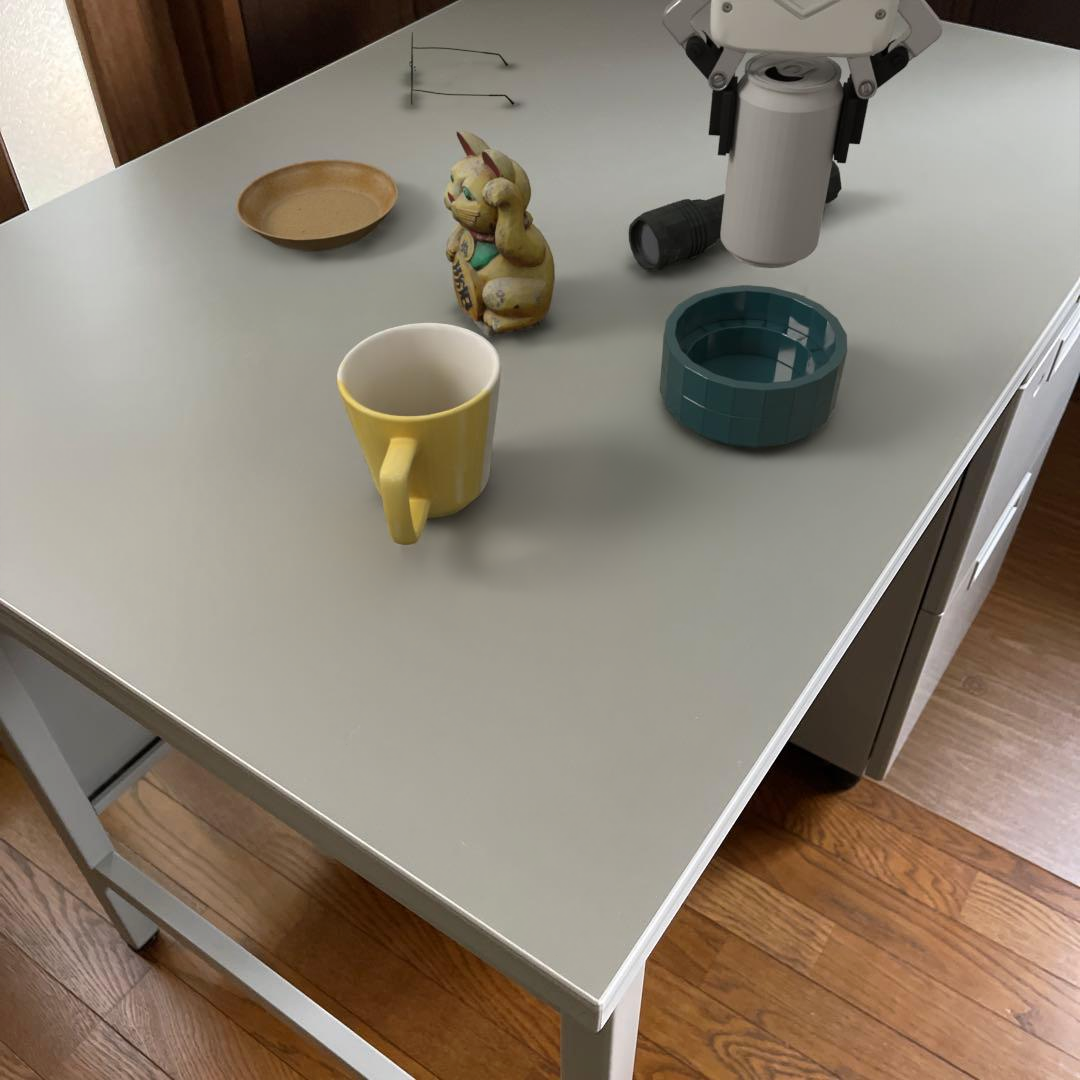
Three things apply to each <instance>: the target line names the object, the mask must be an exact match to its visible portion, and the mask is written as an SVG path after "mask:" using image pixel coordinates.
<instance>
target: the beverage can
mask: <svg viewBox="0 0 1080 1080" xmlns="http://www.w3.org/2000/svg"><path fill="white" fill-rule="evenodd" d="M842 72H843V71H842V68H841V66H840V64H839V63H837V62H836V60H833V59H832V58H831V57H819V56H799V55H780V54H762V53H758V54H755V55H753V56H752V57H750V58H749V59H748V60H747V61H746V63H745V64H744V74H743V76H741V78H740V79H738V82H737V89H736V98H735V108H734V117H733V126H732V135H731V144H730V152H729V154H728V159H727V160H728V161H727V170H726V178H725V187H724V194H725V196H724V205H723V215H722V224H721V233H720V236H721V238H720V241H721V243H722V245H723V246H724V248H725V249H726V250H727V251H728V252H729V253H730V254H731V255H732V256H733V257H734V258H735V259H736V260H738V261H740V262H741V263H743V264H746V265H748V266H752V267H755V268H763V269H778V268H784V267H785V268H786V267H789V266H791V265H794V264H796V263H798V262H799V261H801V260H804V259H806V258H808V257H809V256H811V255H812V254H813V253H814V252H815V251H816V248H817V247H818V245H819V239H820V233H821V228H822V221H823V217H824V211H825V205H826V204H825V200H826V195H827V189H828V183H829V178H830V172H831V167H832V161H834V150H835V144H836V138H837V133H838V127H839V121H840V116H841V110H842V105H843V99H844V89H843V84H842V82H841V78H842Z"/></svg>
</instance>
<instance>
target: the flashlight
mask: <svg viewBox="0 0 1080 1080" xmlns="http://www.w3.org/2000/svg"><path fill="white" fill-rule="evenodd" d="M840 171H841V170H840V168H839V166H838V165H837V162H835V160H833V161H832V167H831V172H830V178H829V183H828V189H827V195H826V200H825V205H827V204H828V205H829V204H830V203H832V202H833V201H834V200H836V199H837V198H838V196H839V193H840V192H841V190H842V179H841V172H840ZM724 196H725V193H722V194H719V195H717V196H713V197H711V198H708V199H702V198H699V199H698V198H697V199H690V198H683V199H680V200H677V201H675V202H671V203H667V204H666V205H662V206H658V207H656V208H653V209H651V210H647V211H645V212H643V213H641V214H640V215H638V216H637V217H635V218H634V219H633V220H632V221H631V222H630V224H629V226H628V242H629V248H630V250H631V253H632V256H633V258H634V259H635V261H636V263H637V264H638V265H639V266H640V267H641V269H644V270H645V271H647V272H650V271H653V272H654V271H657V270H659V271H662V270H663V269H667V268H669V267H673V266H675V265H678V264H680V263H683V262H687V261H688V260H691V259H694V258H696V257H699V256H701V255H702V254H704V253H706V251H707V250H708V249H709V248H711V247H713V246H714V245H716V244H717V243H718V241H719V240H721V236H720V233H721V224H722V215H723V205H724Z"/></svg>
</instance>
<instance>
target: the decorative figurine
mask: <svg viewBox="0 0 1080 1080" xmlns="http://www.w3.org/2000/svg"><path fill="white" fill-rule="evenodd" d="M456 137H457V139H458V141H459V143H460V145H461V147H462V149H463V151H464V154H465V155H466V156H465V157H463V158H462V159H460V160H459V161H457V162H456V163H455V164H454V165H453V166H452V167H451V169H450V181H449V182H448V183H447V186H446V187H445V191H444V194H443V204H444V206H445V208H446V209H447V210H448V211H450V213H451V216H452V218H453V219H454V220H455V221H456V222H457V223H458V224H457V225H456V226H455V227H454V228H453V230H452V231H451V233H450V234H449V236H448V238H447V242H446V248H445V256H446V258H447V261H448V262H449V263H451V264H452V265H451V266H452V267H451V269H452V280H453V281H452V282H453V288H454V293H455V296H456V299H457V302H458V305H459V306H460V308H461V309H462V310H463V311H464V313H465V314H466V315H467V316H468V319H469V320H472V322H473V323H474V324H475V325H476V327H477V328H478V329H479V330H480V331H481V332H482V333H483V334H484V335H485V337H488V338H492V337H496V336H498V335H503V334H505V333H510V332H513V333H519V332H522V331H525V330H530V329H532V328H533V329H534V328H536V327H541V322H540V321H541V320H543V319H544V318H545V317H546V316H547V314H548V313H549V312H550V309H551V305H552V299H553V293H554V287H555V281H556V280H555V279H556V277H555V276H556V274H555V273H556V272H555V262H554V261H555V260H554V256H553V253H552V250H551V247H550V244H549V243H548V241H547V239H546V238H545V236H544V234H543V233H542V231H541V230H540V229H539V228H538V227H537V225H535V224H534V223H533V221H534V218H533V216H532V213H531V212H529V211H527V209H528V206H529V204H530V202H531V198H532V187H531V183H530V178H529V176H528V174H527V172H526V170H525V169H524V168H523V167H522V166H521V165H520V164H519V162H517V161H516V160H515V159H512V158H511V157H509V155H507V154H505V153H503V152H502V151H500V150H497V149H491V148H490V146H489V145H488V144H487V143H486V142H485V141H484V140H483V138H481V137H479V136H478V135H476V134H474V133H472V132H470V131H466V130H458V131H456Z"/></svg>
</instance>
